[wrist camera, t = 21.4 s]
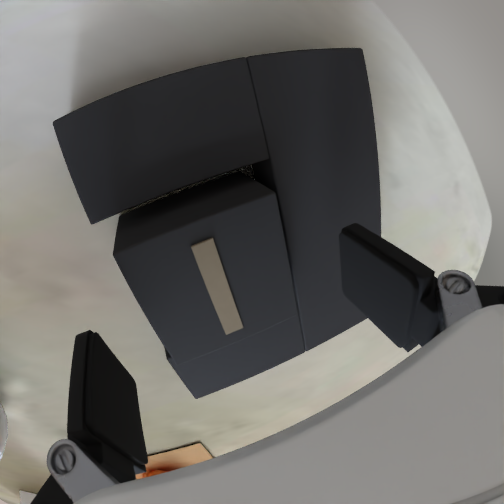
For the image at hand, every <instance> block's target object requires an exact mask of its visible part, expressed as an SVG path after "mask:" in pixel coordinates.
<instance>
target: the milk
mask: <svg viewBox="0 0 504 504" xmlns="http://www.w3.org/2000/svg"><path fill="white" fill-rule="evenodd" d="M19 491H20V504H31V502H32V501H33V499H34V498H35V496H36V495H37V494H34V493H29V492H25V491H21V490H19Z"/></svg>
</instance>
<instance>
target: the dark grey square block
mask: <svg viewBox="0 0 504 504" xmlns="http://www.w3.org/2000/svg"><path fill="white" fill-rule="evenodd" d="M113 256H114V258H115V260H116V262H117V264H118V266H119V268H120V270H121V272H122V274H123V276H124V278H125V279H126V281H127V283H128V285H129V287H130V289H131V291H132V292H133V294H134V296H135V298H136V300H137V301H138V303H139V305H140V307H141V308H142V310H143V312H144V314H145V315H146V317H147V319H148V320H149V322H150V324H151V325H152V327H153V329H154V330H155V332H156V334H157V335H158V337H159V339H160V340H161V342H162V343H163V345H164V346H165V348H166V350H167V351H168V353H169V354H170V356H171V357H172V359H173V360H174V362H175V363H176V365H180V364H182V363H185V362H188V361H190V360H193V359H196V358H198V357H201V356H203V355H206V354H208V353H211V352H213V351H216V350H218V349H221V348H223V347H226V346H228V345H230V344H233V343H235V342H238V341H240V340H242V339H245V338H247V337H249V336H252V335H254V334H256V333H258V332H261V331H263V330H265V329H268V328H270V327H272V326H274V325H276V324H279V323H281V322H283V321H285V320H287V319H289V318H292V317H294V316H296V315H298V310H297V304H296V298H295V293H294V287H293V281H292V276H291V270H290V265H289V259H288V254H287V248H286V243H285V238H284V233H283V227H282V222H281V217H280V212H279V207H278V202H277V197H276V193H275V192H274V191H272V190H271V189H269V188H267V187H266V186H264V185H262V184H261V183H259V182H257V181H255V180H254V179H252V178H250V177H249V176H247V175H245V174H243V173H242V172H236V173H233V174H230V175H227V176H224V177H221V178H218V179H215V180H212V181H209V182H206V183H204V184H201V185H198V186H195V187H192V188H190V189H187V190H184V191H181V192H179V193H176V194H173V195H171V196H168V197H166V198H163V199H160V200H158V201H155V202H153V203H150V204H148V205H145V206H143V207H140V208H138V209H135V210H133V211H130V212H128V213H126V214H123V215H121V216H119V220H118V226H117V232H116V238H115V244H114V250H113Z"/></svg>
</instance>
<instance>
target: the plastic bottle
mask: <svg viewBox="0 0 504 504" xmlns="http://www.w3.org/2000/svg"><path fill="white" fill-rule="evenodd" d="M7 437H8V422H7V416H6V413H5V411H4V408H3V406H2V404H1V402H0V459H1V458H2V455H3V452H4V449H5V445H6V441H7Z"/></svg>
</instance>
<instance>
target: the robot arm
mask: <svg viewBox="0 0 504 504" xmlns="http://www.w3.org/2000/svg"><path fill="white" fill-rule="evenodd" d="M339 247H340V262H341V281H342V291H343V294H344V295H345V297H346V298H347V299H349V300H350V301H351V302H352V303H353V304H354V305H355V306H356V307H357V308H358V309H359V310H360V311H361V312H362V313H363V314H364V315H365V316H366V317H368V318H369V319H370V320H371V321H372V322H373V323H374V324H375V325H376V326H377V327H378V328H379V329H380V330H381V331H382V332H383V333H384V334H385V335H386V336H387V337H388V338H389V339H390V340H391V341H392V342H393V343H394V344H396V345H397V346H398V347H400V348H402V347H403V348H404V349H405V350H406V351H407V352H409V351H410V350H412V349H413V348H414V347H416V346H417V345H418V344H419V345H421V346H422V347H421V348H420V349H419V350H417V351H416V352H414V353H413V354H412V355H410V356H409V357H407V358H406V359H405V360H403V361H402V362H400V363H399V364H398V365H396V366H395V367H393V368H392V369H390V370H389V371H387V372H386V373H384V374H383V375H381V376H380V377H378V378H377V379H375V380H374V381H372V382H371V383H369V384H367V385H366V386H364V387H363V388H361V389H359V390H358V391H356V392H354V393H353V394H351V395H349V396H348V397H346V398H344V399H343V400H341V401H339V402H337V403H335V404H334V405H332V406H330V407H328V408H326V409H325V410H323V411H321V412H319V413H317V414H315V415H313V416H311V417H309V418H307V419H305V420H303V421H301V422H299V423H297V424H295V425H293V426H291V427H289V428H287V429H285V430H283V431H280V432H278V433H276V434H274V435H271V436H269V437H267V438H264V439H262V440H260V441H257V442H255V443H252V444H250V445H247V446H245V447H242V448H240V449H237V450H235V451H232V452H229V453H226V454H224V455H221V456H218V457H215V458H212V459H209V460H206V461H203V462H200V463H197V464H193V465H190V466H186V467H183V468H179V469H176V470H172V471H169V472H165V473H161V474H158V475H154V476H150V477H145V478H141V479H136V476H135V475H136V474H141V473H145V472H147V471H146V466H145V464H147V463H148V457H147V452H146V447H145V441H144V436H143V430H142V424H141V417H140V411H139V404H138V396H137V388H136V383H135V381H134V379H133V377H132V376H131V375H130V374H129V372H128V371H127V370H126V369H125V368H124V366H123V365H122V364H121V363H120V361H119V360H118V359H117V358H116V356H115V355H114V354H113V353H112V351H111V350H110V349H109V347H108V346H107V345H106V343H105V342H104V341H103V339H102V338H101V337H100V335H99V334H98V333H97V332H95V333H93V332H92V331H91V330H88V331H86V332H83V333H81V334H78V335H76V338H75V344H74V351H73V359H72V367H71V376H70V387H69V401H68V423H67V433H68V439H61V440H59V441H57V442H56V443H54V444H53V445H52V447H51V448H50V450H49V452H48V455H47V467H48V469H49V471H50V473H51V475H50V477H49V478H48V479H47V481H46V482H45V484H44V485H43V486H42V488H41V489H40V491H39V492H38V493H37V495H36V496H35V498H34V499H33V501H32V502H31V504H504V287H503V286H502V287H501V286H476V285H475V284H474V282H473V280H472V278H471V277H470V276H469V275H467V274H466V273H464V272H461V271H458V270H447V271H445V272H442V273H441V274H440V275H439V277H438V279H437V278H436V277H434V273H435V272H434V271H433V270H432V269H430V268H429V267H427V266H426V265H424V264H422V263H421V262H419V261H418V260H416V259H415V258H413V257H412V256H410V255H409V254H407V253H405V252H404V251H402V250H401V249H399V248H398V247H396V246H394V245H393V244H391V243H390V242H388V241H386V240H385V239H383V238H381V237H380V236H378V235H376V234H375V233H373V232H371V231H370V230H368V229H366V228H365V227H363V226H361V225H360V224H358V223H353V224H351V225H348V226H346V227H344V228H342V230H341V233H340V234H339Z"/></svg>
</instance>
